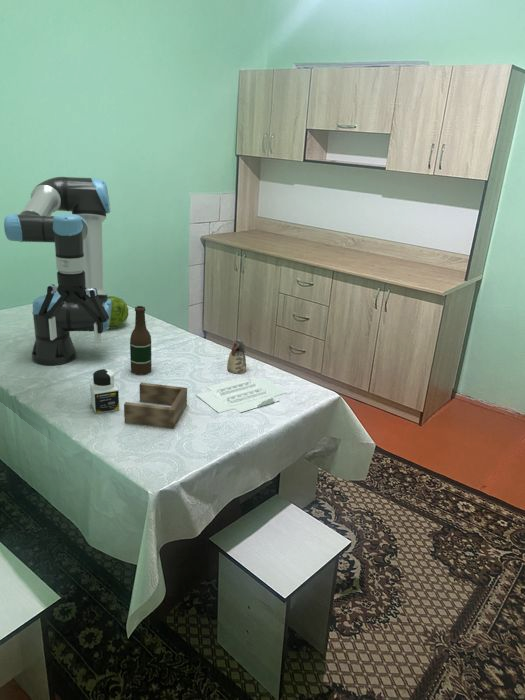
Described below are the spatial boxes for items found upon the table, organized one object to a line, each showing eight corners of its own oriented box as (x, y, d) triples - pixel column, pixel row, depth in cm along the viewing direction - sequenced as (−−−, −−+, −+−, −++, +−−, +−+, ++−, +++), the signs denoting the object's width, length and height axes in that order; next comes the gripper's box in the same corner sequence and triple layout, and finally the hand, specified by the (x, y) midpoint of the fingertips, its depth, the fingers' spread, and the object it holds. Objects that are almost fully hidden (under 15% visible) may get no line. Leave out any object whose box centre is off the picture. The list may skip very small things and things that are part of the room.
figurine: (250, 370, 197) (252, 340, 193) (236, 375, 192) (238, 345, 188) (236, 364, 202) (238, 334, 197) (223, 369, 197) (224, 339, 192)
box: (124, 422, 157) (123, 404, 155) (141, 399, 171) (141, 382, 169) (174, 428, 156) (174, 410, 154) (186, 404, 170) (187, 387, 168)
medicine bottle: (95, 414, 161) (93, 378, 156) (91, 403, 166) (88, 368, 162) (119, 410, 164) (118, 374, 159) (114, 399, 170) (112, 365, 165)
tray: (190, 393, 179) (191, 383, 177) (256, 378, 195) (257, 369, 194) (224, 420, 164) (225, 409, 163) (292, 401, 181) (294, 391, 179)
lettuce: (112, 322, 246) (113, 294, 244) (132, 328, 228) (133, 297, 226) (81, 322, 238) (82, 293, 236) (99, 328, 219) (100, 296, 217)
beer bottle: (147, 376, 187) (146, 311, 177) (126, 373, 188) (124, 308, 179) (155, 368, 194) (155, 305, 185) (135, 365, 195) (134, 302, 186)
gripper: (21, 269, 148) (28, 341, 156) (109, 277, 146) (112, 349, 154) (34, 264, 155) (41, 332, 163) (118, 271, 153) (121, 340, 161)
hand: (75, 340), depth 158 cm, fingers open, 13 cm apart
